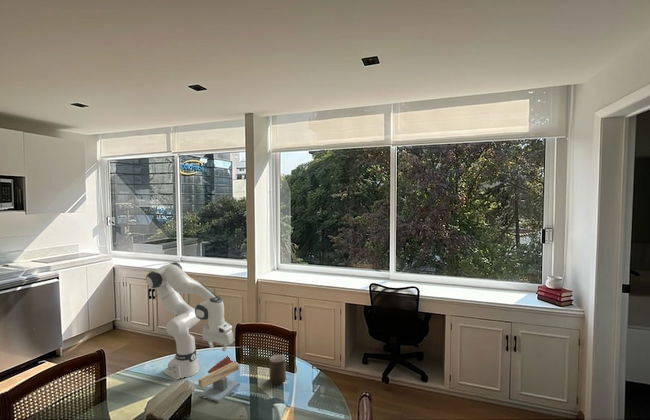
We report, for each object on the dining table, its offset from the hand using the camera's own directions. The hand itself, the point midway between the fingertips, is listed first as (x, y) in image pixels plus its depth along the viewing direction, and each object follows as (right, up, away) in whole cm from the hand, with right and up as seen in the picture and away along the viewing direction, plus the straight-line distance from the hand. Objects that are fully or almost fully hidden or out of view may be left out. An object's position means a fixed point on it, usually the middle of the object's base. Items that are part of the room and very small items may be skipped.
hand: (218, 349), depth 196 cm
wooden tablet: (-5, -24, +32) cm, 41 cm away
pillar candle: (+33, -24, +11) cm, 43 cm away
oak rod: (0, -17, +1) cm, 17 cm away
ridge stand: (+1, -25, +2) cm, 25 cm away
